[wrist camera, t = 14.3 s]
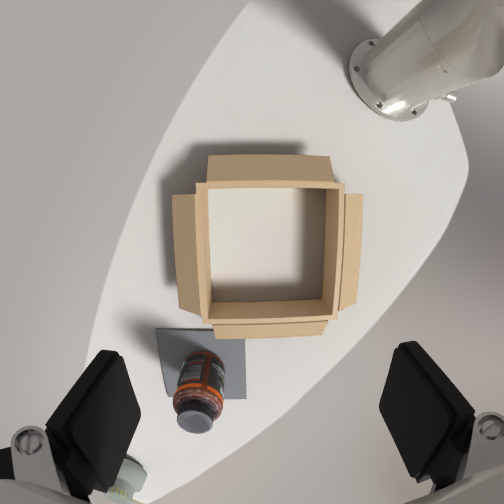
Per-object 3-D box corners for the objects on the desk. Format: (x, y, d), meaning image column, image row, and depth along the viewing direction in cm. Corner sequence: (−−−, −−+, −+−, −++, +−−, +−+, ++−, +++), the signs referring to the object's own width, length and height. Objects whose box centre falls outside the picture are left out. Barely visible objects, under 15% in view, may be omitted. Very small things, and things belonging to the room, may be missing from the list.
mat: (244, 329, 37) (244, 331, 36) (246, 397, 39) (246, 399, 39) (156, 328, 36) (155, 330, 36) (168, 395, 39) (168, 396, 39)
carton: (352, 161, 33) (370, 157, 28) (344, 321, 37) (357, 339, 32) (177, 160, 32) (166, 155, 27) (187, 326, 37) (179, 346, 31)
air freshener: (140, 480, 45) (132, 512, 36) (107, 466, 44) (95, 497, 35) (151, 462, 43) (141, 498, 34) (113, 446, 42) (99, 481, 33)
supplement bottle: (175, 365, 37) (156, 419, 26) (202, 341, 37) (189, 395, 26) (206, 389, 38) (198, 445, 27) (234, 367, 38) (233, 424, 27)
